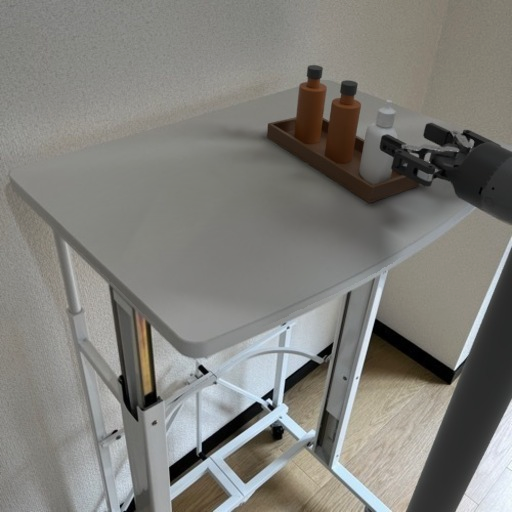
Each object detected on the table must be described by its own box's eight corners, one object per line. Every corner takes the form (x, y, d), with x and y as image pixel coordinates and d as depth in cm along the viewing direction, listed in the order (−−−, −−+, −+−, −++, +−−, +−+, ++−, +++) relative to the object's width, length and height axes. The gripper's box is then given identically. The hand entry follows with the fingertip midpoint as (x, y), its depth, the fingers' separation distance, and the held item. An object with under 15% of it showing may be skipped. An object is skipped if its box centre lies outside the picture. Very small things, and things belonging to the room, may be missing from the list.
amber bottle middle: (339, 149, 90) (350, 76, 83) (357, 159, 88) (370, 85, 81) (318, 154, 88) (328, 80, 81) (336, 165, 85) (348, 89, 78)
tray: (313, 126, 99) (314, 112, 97) (418, 186, 83) (422, 171, 81) (266, 137, 94) (267, 123, 93) (369, 203, 78) (372, 187, 76)
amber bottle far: (309, 131, 96) (317, 61, 89) (325, 140, 93) (335, 69, 86) (288, 136, 94) (295, 65, 86) (304, 146, 91) (313, 73, 84)
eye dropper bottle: (387, 171, 85) (403, 95, 78) (389, 189, 80) (406, 110, 73) (358, 168, 85) (372, 92, 78) (359, 185, 81) (373, 106, 74)
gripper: (552, 144, 66) (446, 100, 76) (476, 171, 59) (371, 118, 70) (530, 198, 70) (433, 149, 81) (457, 229, 64) (361, 171, 74)
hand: (404, 135), depth 75 cm, fingers open, 8 cm apart
